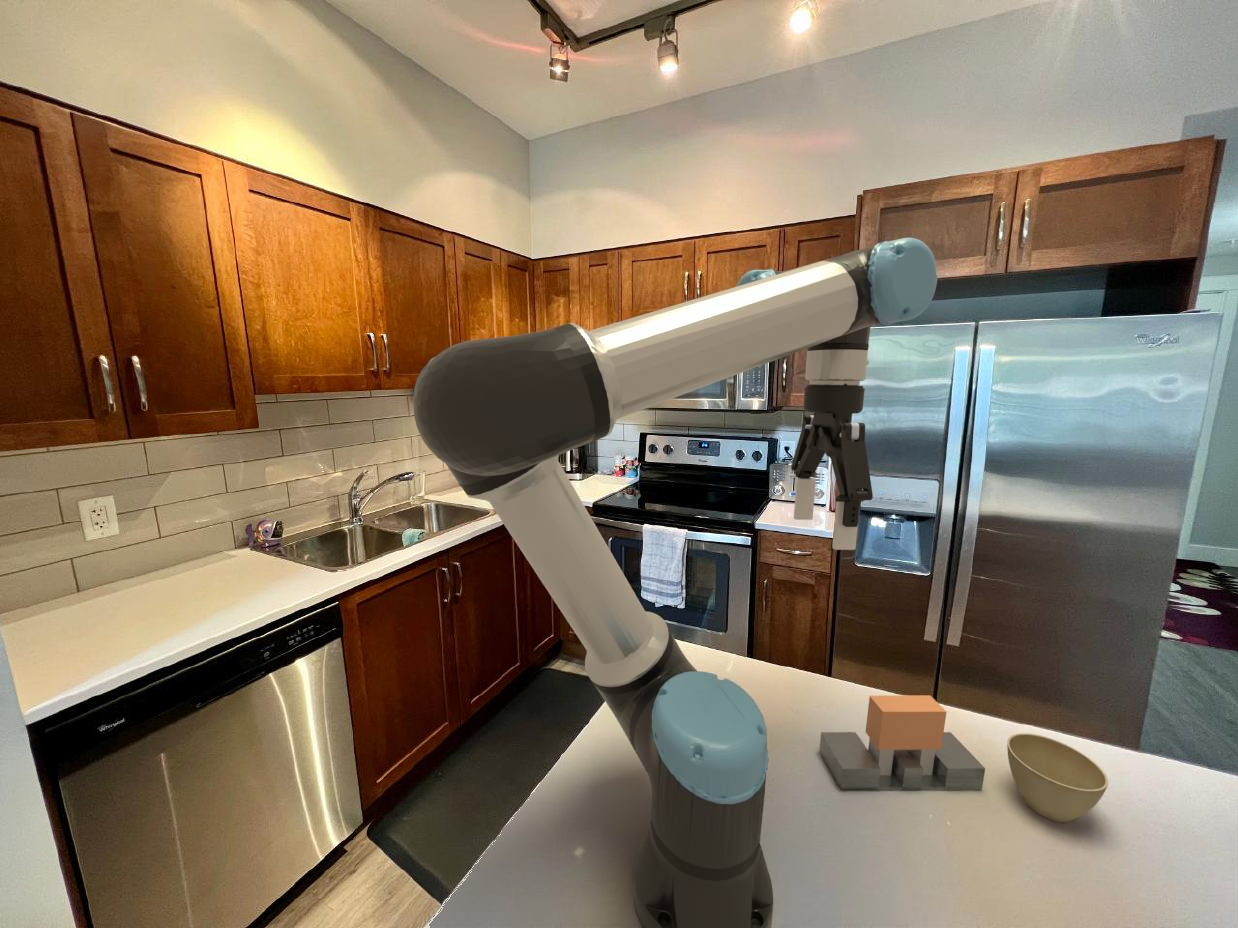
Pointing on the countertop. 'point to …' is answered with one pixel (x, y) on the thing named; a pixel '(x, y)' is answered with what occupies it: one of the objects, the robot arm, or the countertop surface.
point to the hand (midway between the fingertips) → (821, 532)
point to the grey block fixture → (899, 766)
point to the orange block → (904, 729)
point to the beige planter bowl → (1054, 777)
